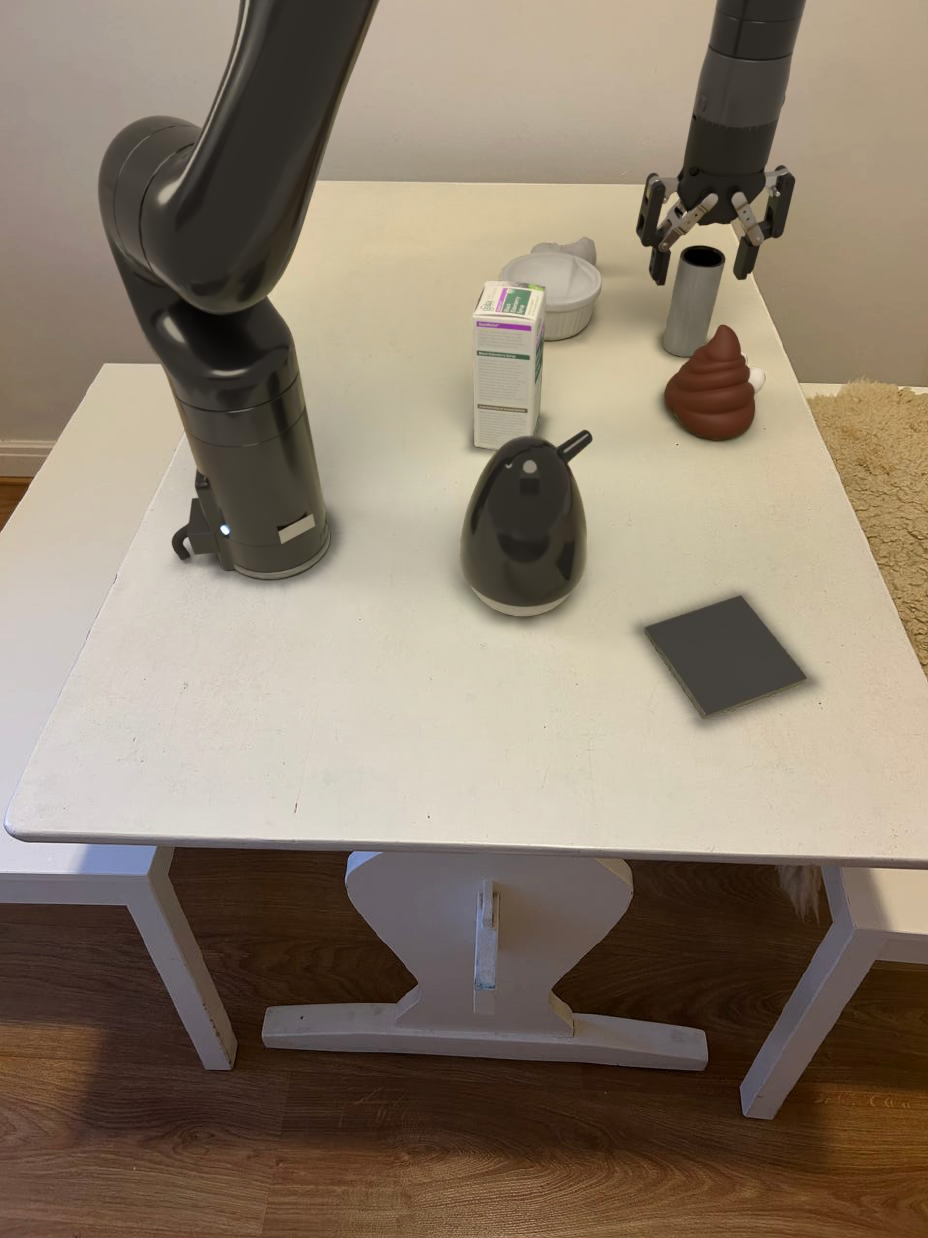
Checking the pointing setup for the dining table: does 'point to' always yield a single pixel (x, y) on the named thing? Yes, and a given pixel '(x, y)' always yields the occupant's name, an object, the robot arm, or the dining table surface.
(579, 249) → the pale two-lobed sculpture
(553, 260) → the ramekin
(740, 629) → the slate coaster
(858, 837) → the dining table surface
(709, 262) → the planter
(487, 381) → the syrup box
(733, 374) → the poop emoji
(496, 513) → the pump dispenser
